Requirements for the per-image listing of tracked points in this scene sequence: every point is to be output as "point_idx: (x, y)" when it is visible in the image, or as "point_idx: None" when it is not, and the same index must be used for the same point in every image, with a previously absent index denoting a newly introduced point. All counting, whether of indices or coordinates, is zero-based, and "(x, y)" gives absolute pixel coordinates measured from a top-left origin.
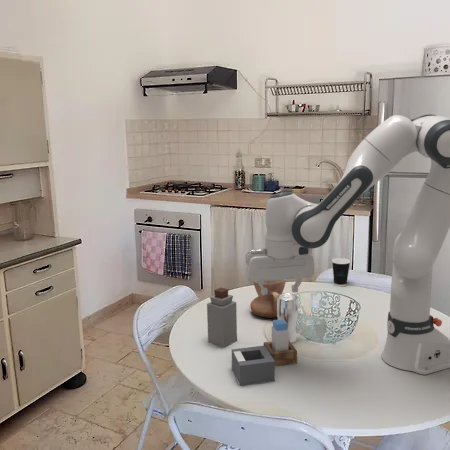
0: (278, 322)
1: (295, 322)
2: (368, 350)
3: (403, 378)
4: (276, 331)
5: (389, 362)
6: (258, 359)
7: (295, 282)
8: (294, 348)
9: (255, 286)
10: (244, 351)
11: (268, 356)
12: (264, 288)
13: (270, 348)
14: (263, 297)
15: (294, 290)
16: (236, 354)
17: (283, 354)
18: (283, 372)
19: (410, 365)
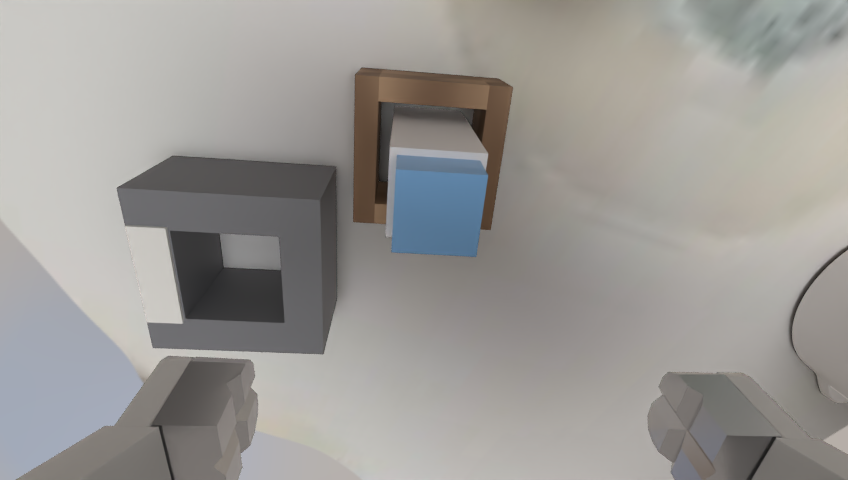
0: (422, 220)
1: None
2: (838, 195)
3: None
4: (391, 236)
5: (801, 325)
6: (251, 322)
7: (841, 474)
8: (491, 201)
9: None
10: (192, 231)
11: (307, 310)
12: (178, 457)
13: (369, 163)
14: None
15: (673, 456)
16: (140, 258)
17: None
18: (392, 254)
19: (830, 382)
